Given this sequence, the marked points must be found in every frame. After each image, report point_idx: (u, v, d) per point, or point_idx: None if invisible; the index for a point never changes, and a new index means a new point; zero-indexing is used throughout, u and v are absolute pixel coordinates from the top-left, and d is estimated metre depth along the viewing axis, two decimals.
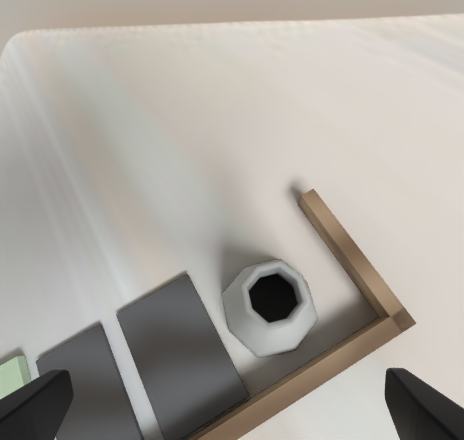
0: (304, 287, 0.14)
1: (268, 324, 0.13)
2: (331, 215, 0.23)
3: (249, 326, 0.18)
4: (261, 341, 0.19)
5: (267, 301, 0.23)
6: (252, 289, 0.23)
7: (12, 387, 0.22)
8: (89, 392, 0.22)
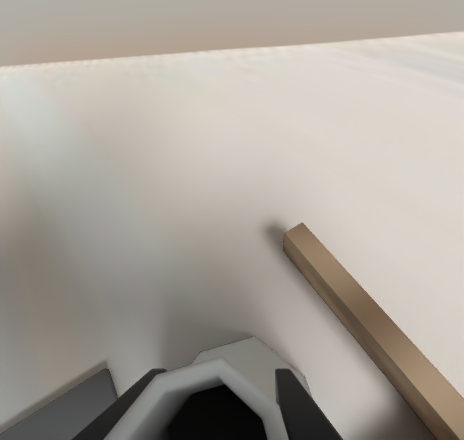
0: None
1: None
2: (333, 260, 0.15)
3: None
4: None
5: (238, 416, 0.13)
6: (212, 393, 0.14)
7: None
8: None
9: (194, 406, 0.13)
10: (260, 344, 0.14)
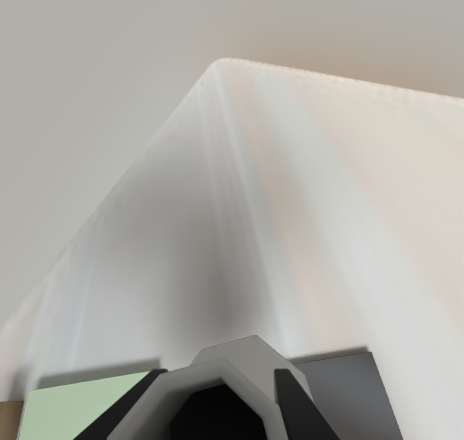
0: None
1: None
2: None
3: None
4: None
5: (238, 412, 0.13)
6: (213, 390, 0.14)
7: None
8: None
9: (195, 402, 0.14)
10: (261, 343, 0.14)
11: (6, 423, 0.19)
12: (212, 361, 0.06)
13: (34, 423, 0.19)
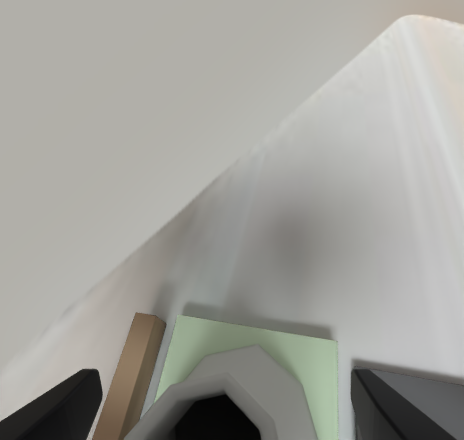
0: None
1: None
2: None
3: None
4: None
5: (237, 417, 0.14)
6: (215, 395, 0.15)
7: (320, 380, 0.15)
8: None
9: (197, 405, 0.14)
10: (262, 352, 0.14)
11: (154, 341, 0.16)
12: (217, 375, 0.06)
13: (183, 352, 0.16)
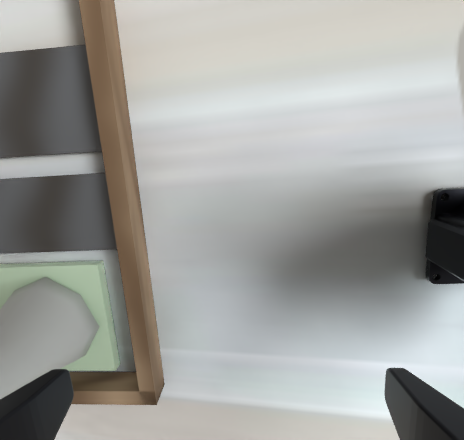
0: None
1: None
2: None
3: (33, 378, 0.18)
4: (49, 358, 0.18)
5: None
6: None
7: (10, 277, 0.22)
8: (39, 210, 0.21)
9: None
10: None
11: None
12: None
13: None
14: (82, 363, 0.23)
